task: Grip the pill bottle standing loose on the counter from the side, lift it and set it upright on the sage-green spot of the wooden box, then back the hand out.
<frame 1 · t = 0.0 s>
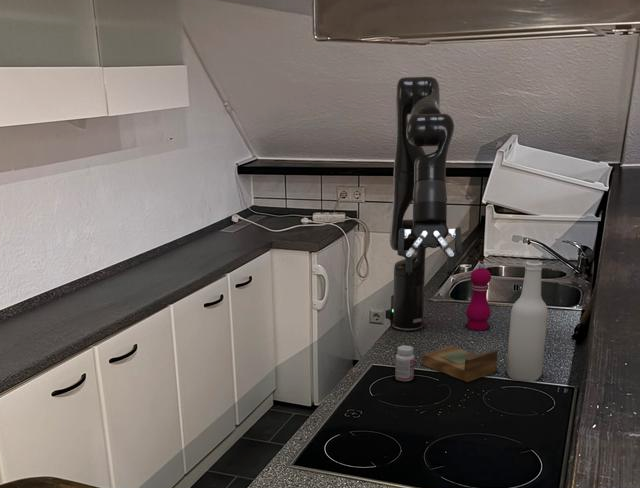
hand: (429, 274, 173), 31 cm above the countertop, tool tilted 20°, fingers open, 8 cm apart
pill bottle: (404, 379, 198), on the countertop
alcohol: (523, 376, 198), on the countertop
pepper mill: (477, 327, 235), on the countertop
wooden box: (458, 368, 204), on the countertop
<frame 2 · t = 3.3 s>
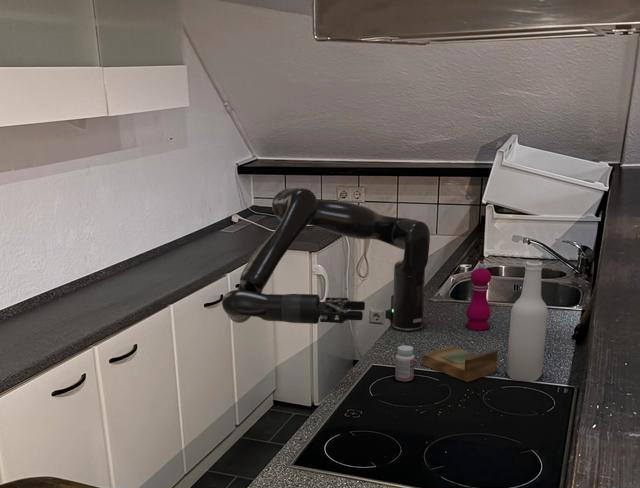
hand: (363, 310, 193), 18 cm above the countertop, tool horizontal, fingers open, 8 cm apart
nothing on the countertop moved.
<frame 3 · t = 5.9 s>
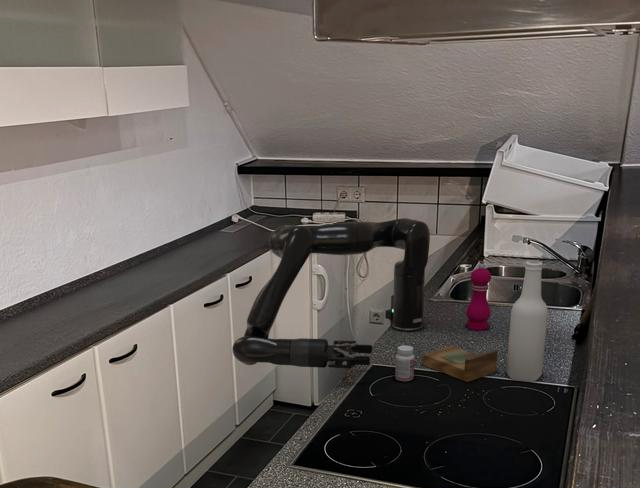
hand: (370, 354, 197), 6 cm above the countertop, tool horizontal, fingers open, 8 cm apart
nothing on the countertop moved.
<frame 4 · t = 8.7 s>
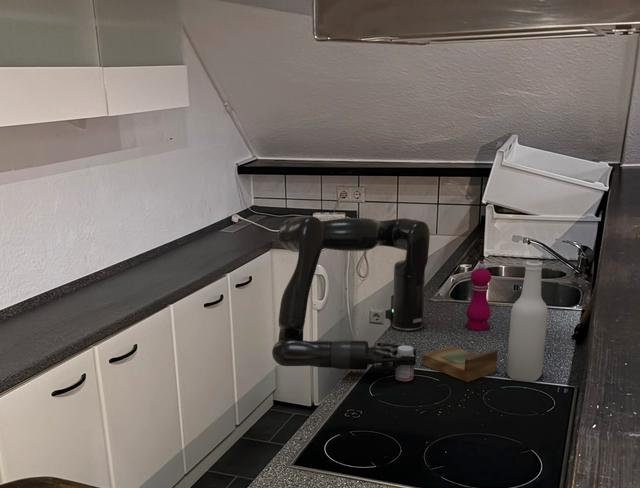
hand: (415, 357, 196), 6 cm above the countertop, tool horizontal, fingers closed on pill bottle, 4 cm apart
pill bottle: (404, 379, 198), on the countertop, touching gripper
everything else where it was.
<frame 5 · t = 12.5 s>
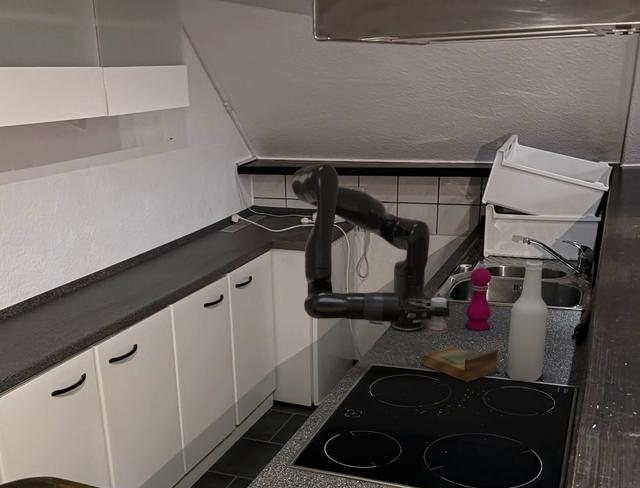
hand: (448, 308, 194), 18 cm above the countertop, tool horizontal, fingers closed on pill bottle, 4 cm apart
pill bottle: (436, 331, 197), point 11 cm above the countertop, touching gripper
everything else where it was.
when the fingers open (9 cm above the countertop, at t = 16.3 s): pill bottle stays where it is, resting on wooden box.
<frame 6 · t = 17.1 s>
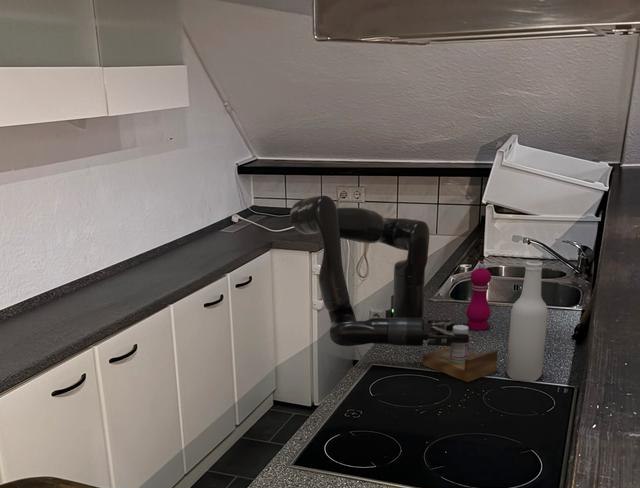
hand: (467, 333, 200), 10 cm above the countertop, tool horizontal, fingers open, 8 cm apart
pill bottle: (458, 357, 202), point 3 cm above the countertop, touching wooden box
everything else where it was.
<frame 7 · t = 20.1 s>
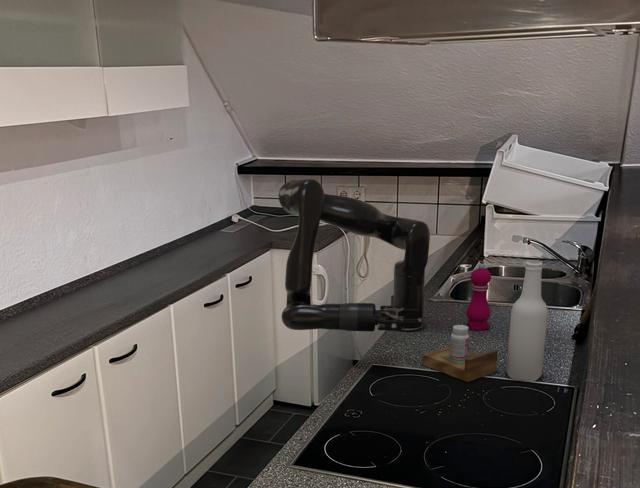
hand: (418, 318, 200), 14 cm above the countertop, tool horizontal, fingers open, 8 cm apart
nothing on the countertop moved.
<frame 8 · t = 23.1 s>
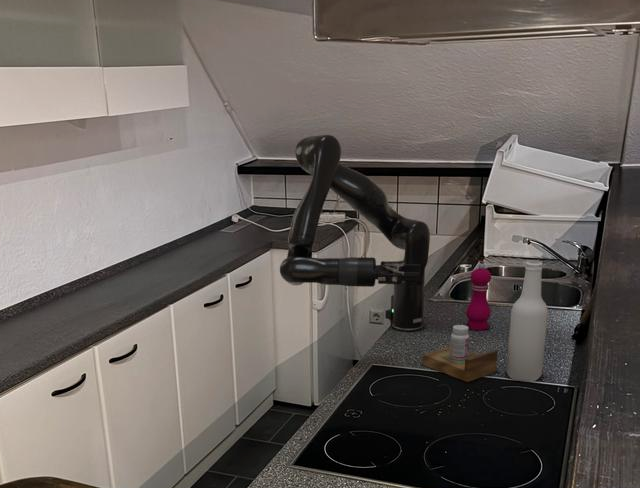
hand: (420, 272, 196), 26 cm above the countertop, tool horizontal, fingers open, 8 cm apart
nothing on the countertop moved.
at the end: pill bottle 0.2 cm from the target spot, point 3.0 cm above the countertop; pill bottle tilted 0°; the gripper is holding nothing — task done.
